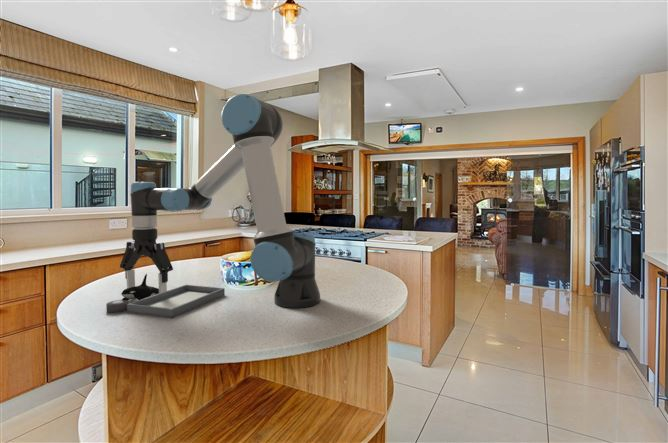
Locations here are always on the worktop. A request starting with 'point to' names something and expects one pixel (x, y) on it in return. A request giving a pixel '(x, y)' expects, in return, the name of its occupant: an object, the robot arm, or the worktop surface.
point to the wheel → (117, 306)
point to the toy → (139, 291)
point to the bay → (175, 301)
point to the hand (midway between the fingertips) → (146, 290)
